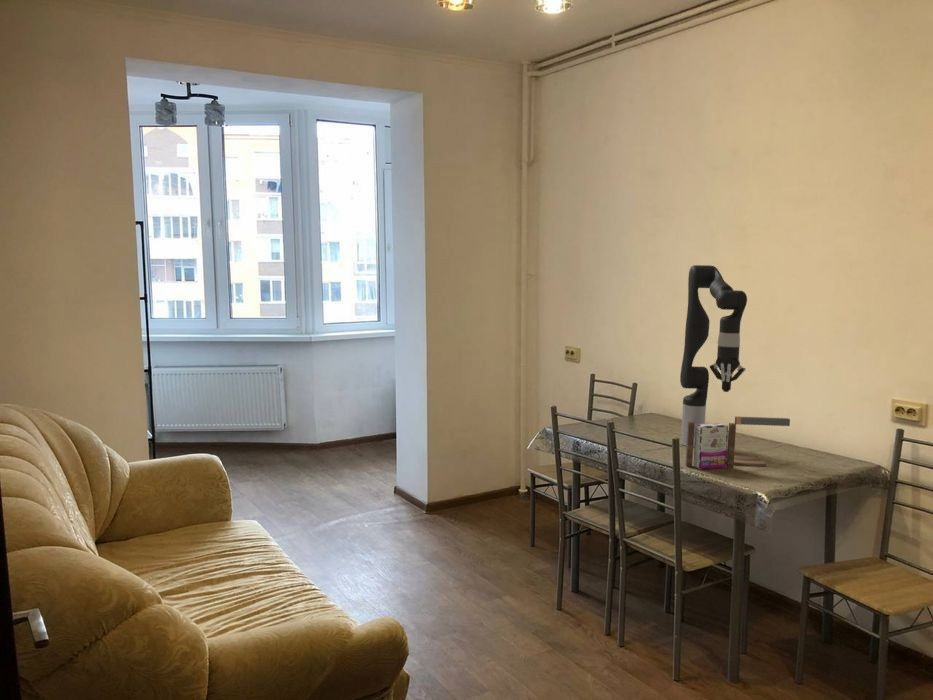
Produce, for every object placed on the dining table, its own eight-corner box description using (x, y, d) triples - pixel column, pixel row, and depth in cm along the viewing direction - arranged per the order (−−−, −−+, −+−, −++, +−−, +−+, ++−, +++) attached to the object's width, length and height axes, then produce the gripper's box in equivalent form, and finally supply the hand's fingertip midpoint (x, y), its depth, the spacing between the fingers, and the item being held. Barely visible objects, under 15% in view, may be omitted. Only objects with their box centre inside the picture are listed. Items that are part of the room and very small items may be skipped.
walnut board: (715, 456, 282) (715, 453, 281) (756, 458, 280) (756, 455, 280) (722, 464, 270) (723, 462, 270) (766, 466, 268) (766, 463, 268)
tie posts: (685, 465, 268) (687, 421, 266) (731, 467, 267) (734, 423, 265) (686, 466, 266) (688, 422, 264) (733, 468, 265) (736, 424, 263)
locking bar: (734, 423, 265) (735, 416, 264) (787, 425, 263) (788, 418, 263) (736, 424, 263) (736, 417, 262) (789, 426, 261) (790, 419, 260)
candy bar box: (719, 464, 270) (721, 422, 268) (726, 468, 265) (729, 425, 263) (692, 465, 268) (694, 423, 266) (699, 469, 263) (701, 426, 261)
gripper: (750, 345, 259) (747, 392, 261) (714, 342, 267) (711, 388, 270) (744, 347, 253) (741, 395, 256) (707, 344, 262) (704, 390, 264)
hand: (725, 391), depth 263 cm, fingers closed
